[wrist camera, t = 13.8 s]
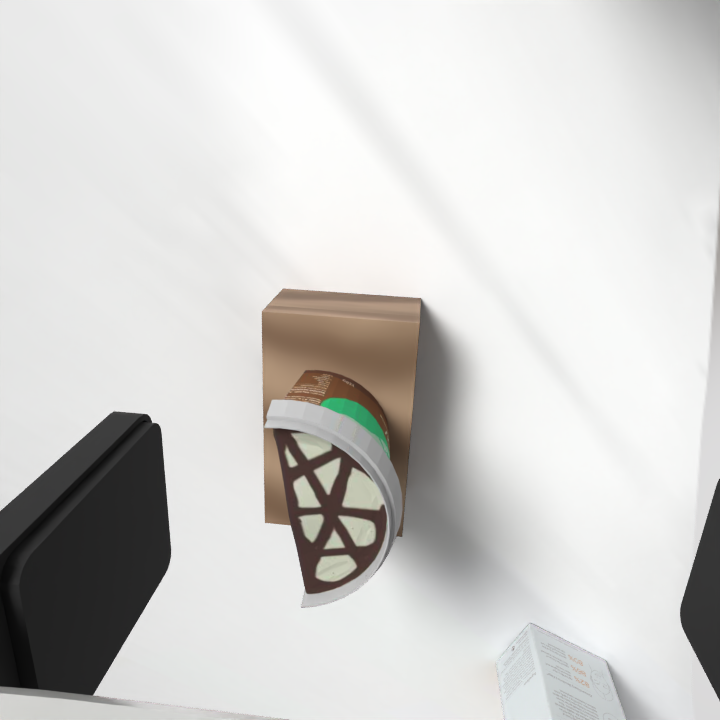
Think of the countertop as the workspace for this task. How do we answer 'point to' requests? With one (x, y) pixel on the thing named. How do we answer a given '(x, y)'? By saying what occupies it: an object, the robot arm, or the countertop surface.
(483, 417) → the countertop surface
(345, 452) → the food container
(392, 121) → the countertop surface
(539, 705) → the small box
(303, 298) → the bridge shelf
